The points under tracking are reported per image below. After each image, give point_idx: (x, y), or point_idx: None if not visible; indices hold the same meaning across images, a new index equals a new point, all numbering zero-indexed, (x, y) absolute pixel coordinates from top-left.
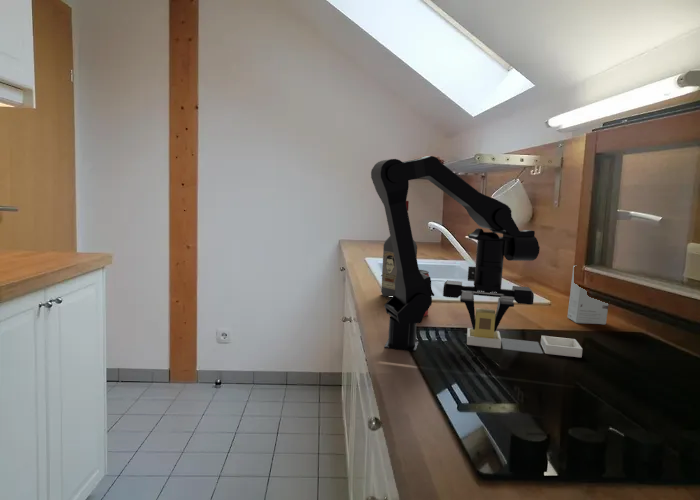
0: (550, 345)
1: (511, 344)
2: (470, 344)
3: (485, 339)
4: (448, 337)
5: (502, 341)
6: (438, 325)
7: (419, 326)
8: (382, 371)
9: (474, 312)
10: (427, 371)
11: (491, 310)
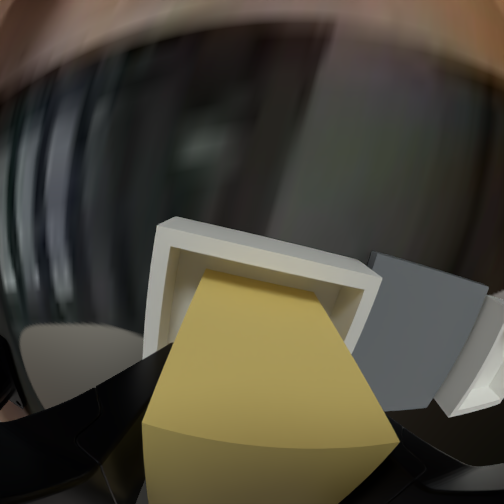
0: (456, 415)
1: (379, 352)
2: None
3: None
4: (78, 239)
5: None
6: (83, 31)
7: (8, 89)
8: None
9: (134, 502)
10: None
11: (337, 478)
